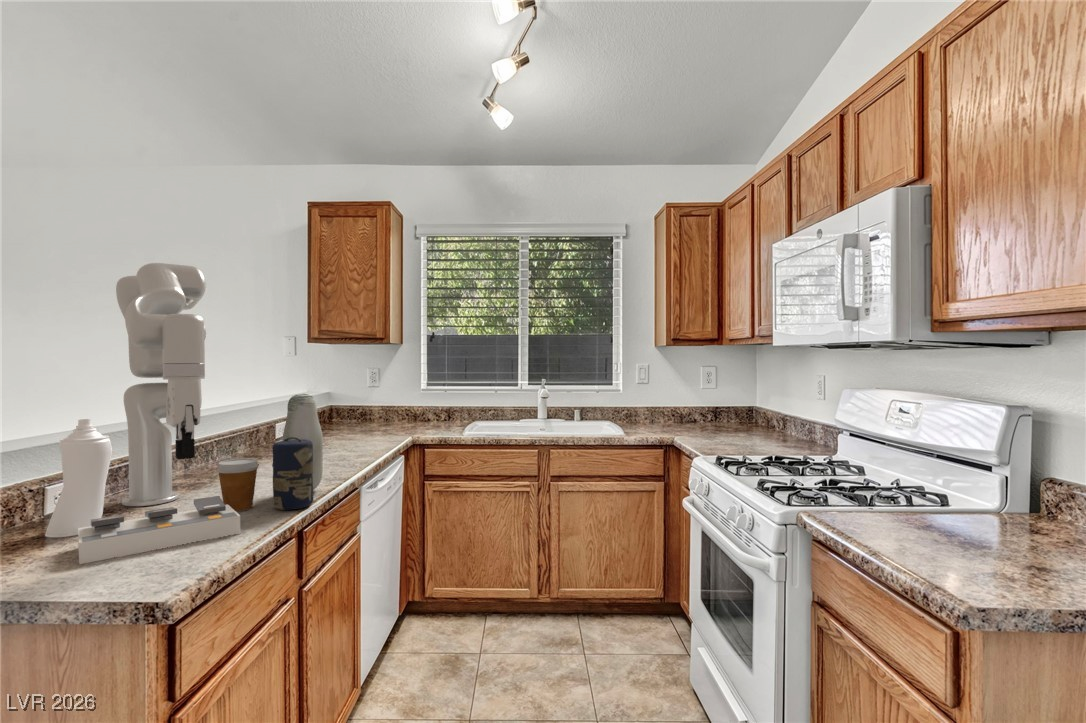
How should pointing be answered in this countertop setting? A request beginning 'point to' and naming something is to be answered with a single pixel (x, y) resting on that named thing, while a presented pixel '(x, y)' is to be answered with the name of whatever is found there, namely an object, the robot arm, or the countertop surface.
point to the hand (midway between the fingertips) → (185, 458)
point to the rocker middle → (160, 512)
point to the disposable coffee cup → (238, 482)
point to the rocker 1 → (107, 520)
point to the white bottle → (81, 480)
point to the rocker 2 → (209, 505)
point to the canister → (292, 474)
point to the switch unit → (154, 533)
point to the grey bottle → (306, 429)
